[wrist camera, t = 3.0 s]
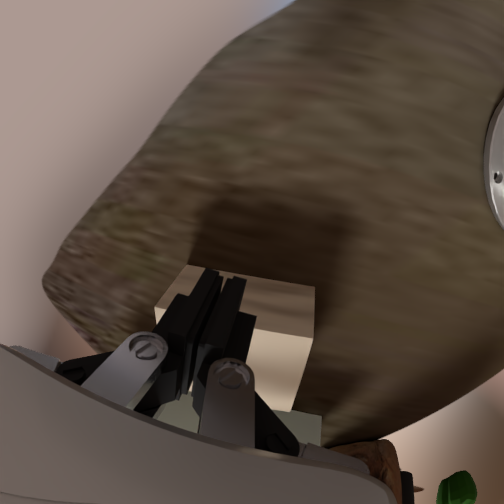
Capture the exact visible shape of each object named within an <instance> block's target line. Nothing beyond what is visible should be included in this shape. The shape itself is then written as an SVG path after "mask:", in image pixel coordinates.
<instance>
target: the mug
mask: <svg viewBox="0 0 504 504" xmlns="http://www.w3.org/2000/svg"><path fill="white" fill-rule="evenodd" d="M400 476H401V488H402V504H414V489H413V477H412V474H411V473H410V472H406V471H400Z"/></svg>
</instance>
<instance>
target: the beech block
mask: <svg viewBox="0 0 504 504" xmlns="http://www.w3.org/2000/svg"><path fill="white" fill-rule="evenodd" d="M204 270H205V268H202V267H197V266H192V265H186V266H185V268H184V269H183V270H182V271H181V273H180V274H179V275H178V277H177V278H176V279H175V280H174V282H173V283H172V284H171V286H170V287H169V288H168V290H167V291H166V292H165V294H164V295H163V296H162V298H161V299H160V300H159V301H158V303H157V304H156V305H155V315H156V323H157V324H158V322H159V320H160V319H161V317H162V316H163V314H164V313H165V311H166V310H167V308H168V306H169V305H170V303H171V302H172V300H173V299H174V297H175V296H176V295H177V294H178V293H180V294H183V295H186V296H189V295H190V293H191V292H192V290H193V288H194V287H195V285H196V283H197V282H198V280H199V278H200V277H201V275H202V273H203V272H204ZM216 271H219V270H216ZM219 272H220V273H219V275H220V276H224V278H223V283H222V288H221V291H222V289H223V286H224V284H225V282H226V280H227V278H231V279H232V278H233V276H237V277H241V278H244V279H247V282H246V286H245V290H244V294H243V298H242V302H241V306H240V310H239V311H241V312H244V313H248V314H252V315H255V316H257V318H256V323H255V327H254V331H253V335H252V339H251V344H250V348H249V352H248V356H247V360H246V364H247V365H248V366H249V367H250V368H251V369H252V371H253V372H254V377H255V391H256V392H257V393H258V395H259V396H260V397H261V398H262V399H263V400H264V402H265V403H266V404H267V405H268V406H269V407H270V409H273V410H279V411H286V412H290V411H291V408H292V405H293V402H294V399H295V396H296V393H297V390H298V387H299V384H300V381H301V378H302V375H303V372H304V368H305V365H306V362H307V359H308V355H309V352H310V349H311V345H312V342H313V337H314V309H315V287H313V286H306V285H300V284H294V283H288V282H282V281H276V280H270V279H264V278H259V277H253V276H247V275H241V274H236V273H230V272H224V271H219ZM192 385H193V381H192V384H191V386H190V389H189V391H191V392H192Z"/></svg>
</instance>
